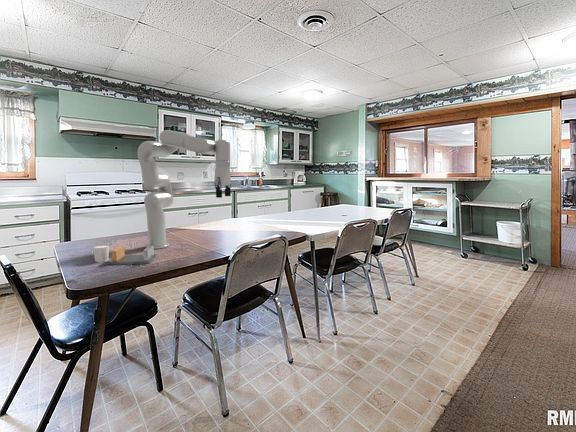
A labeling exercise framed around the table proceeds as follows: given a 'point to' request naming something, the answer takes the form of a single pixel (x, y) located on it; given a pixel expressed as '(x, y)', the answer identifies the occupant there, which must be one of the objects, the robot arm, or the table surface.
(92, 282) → the table surface
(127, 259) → the vise base
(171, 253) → the table surface
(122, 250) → the slide jaw
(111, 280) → the table surface
